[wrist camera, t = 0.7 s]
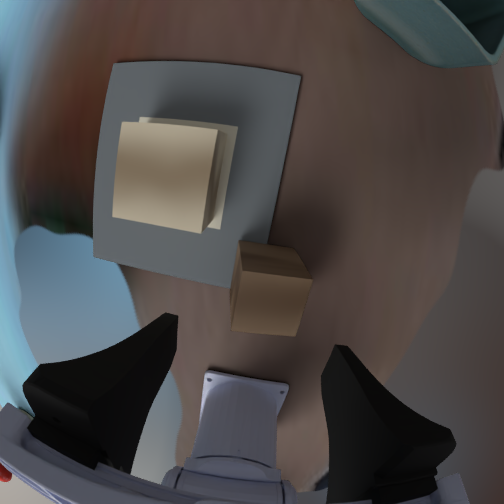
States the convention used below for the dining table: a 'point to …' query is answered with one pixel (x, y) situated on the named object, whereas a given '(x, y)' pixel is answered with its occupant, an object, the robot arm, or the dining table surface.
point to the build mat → (232, 171)
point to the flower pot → (442, 29)
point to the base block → (168, 174)
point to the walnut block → (268, 289)
